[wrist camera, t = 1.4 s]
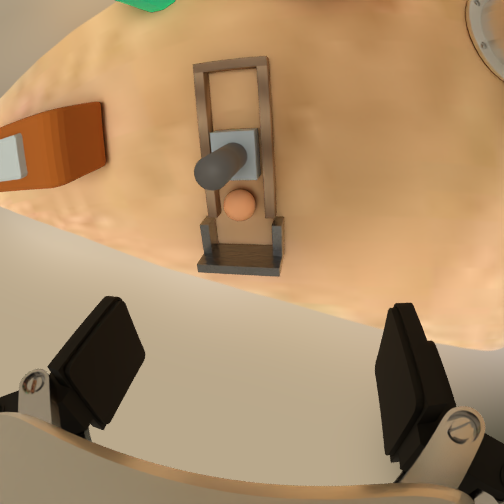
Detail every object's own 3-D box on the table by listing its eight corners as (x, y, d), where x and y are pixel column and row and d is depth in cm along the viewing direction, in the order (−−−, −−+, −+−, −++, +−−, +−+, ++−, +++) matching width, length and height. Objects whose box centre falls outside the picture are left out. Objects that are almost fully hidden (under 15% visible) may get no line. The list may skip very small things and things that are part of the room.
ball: (226, 185, 33) (218, 195, 30) (257, 185, 32) (251, 194, 29) (229, 213, 35) (221, 225, 32) (258, 214, 34) (253, 226, 31)
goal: (207, 216, 35) (191, 234, 31) (283, 217, 34) (278, 236, 29) (211, 250, 38) (198, 272, 33) (284, 253, 36) (279, 276, 31)
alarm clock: (107, 100, 30) (40, 111, 20) (112, 163, 34) (51, 192, 25) (7, 128, 34) (-44, 147, 24) (13, 174, 38) (-35, 198, 28)
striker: (217, 130, 30) (181, 144, 22) (258, 128, 29) (236, 140, 21) (221, 174, 32) (189, 204, 24) (260, 174, 31) (241, 203, 23)
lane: (198, 65, 27) (192, 64, 25) (268, 58, 25) (266, 56, 24) (212, 212, 35) (208, 217, 34) (276, 212, 33) (274, 218, 32)
